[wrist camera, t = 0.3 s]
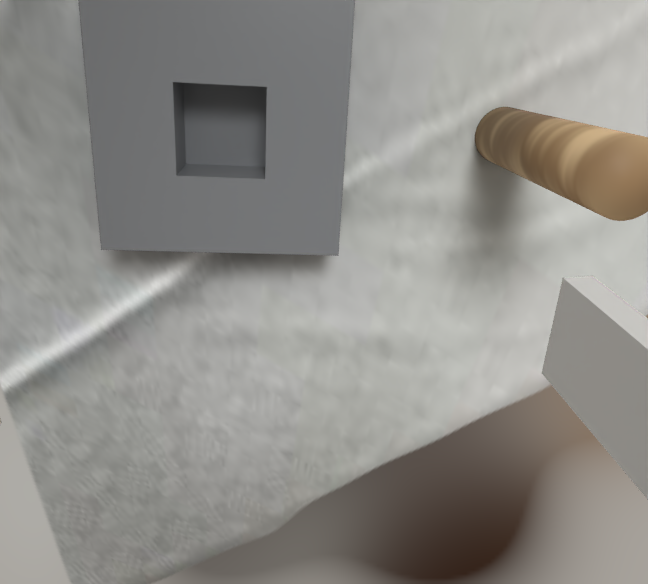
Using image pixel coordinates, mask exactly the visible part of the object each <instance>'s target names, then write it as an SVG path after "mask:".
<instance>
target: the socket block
mask: <svg viewBox="0 0 648 584" xmlns="http://www.w3.org/2000/svg"><path fill="white" fill-rule="evenodd" d="M78 1H79V12H80V23H81V33H82V44H83V55H84V66H85V77H86V88H87V99H88V110H89V121H90V132H91V143H92V154H93V165H94V176H95V187H96V198H97V209H98V220H99V230H100V241H101V250H132V251H173V252H213V253H254V254H294V255H335V256H338V253H339V237H340V222H341V207H342V191H343V176H344V161H345V145H346V130H347V115H348V99H349V84H350V68H351V53H352V38H353V22H354V7H355V0H78Z"/></svg>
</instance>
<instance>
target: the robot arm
mask: <svg viewBox="0 0 648 584" xmlns="http://www.w3.org/2000/svg"><path fill="white" fill-rule="evenodd" d="M542 374H543V375H544V376H545V377H546V379H547V380H548V381H549V382H550V383H551V385H552V386H553V387H554V388H555V389H556V391H557V392H558V393H559V394H560V395H561V397H562V398H563V399H564V400H565V401H566V403H567V404H568V405H569V406H570V407H571V409H572V410H573V411H574V412H575V413H576V415H577V416H578V417H579V418H580V419H581V420H582V422H583V423H584V424H585V425H586V426H587V428H588V429H589V430H590V431H591V432H592V434H593V435H594V436H595V437H596V438H597V440H598V441H599V442H600V443H601V444H602V446H603V447H604V448H605V449H606V450H607V452H608V453H609V454H610V455H611V456H612V458H613V459H614V460H615V461H616V462H617V463H618V465H619V466H620V467H621V468H622V469H623V471H624V472H625V473H626V474H627V475H628V477H629V478H630V479H631V480H632V481H633V483H634V484H635V485H636V486H637V487H638V489H639V490H640V491H641V492H642V493H643V494H644V496H645V497H646V498H647V499H648V318H646V317H645V316H644V315H643V314H641V313H640V312H639V311H637V310H636V309H635V308H634V307H632V306H631V305H630V304H628V303H627V302H626V301H625V300H623V299H622V298H621V297H619V296H618V295H617V294H616V293H614V292H613V291H612V290H610V289H609V288H608V287H607V286H605V285H604V284H603V283H601V282H600V281H599V280H597V279H596V278H595V277H594V276H581V277H565V278H563V280H562V284H561V289H560V293H559V298H558V302H557V307H556V311H555V316H554V320H553V325H552V329H551V334H550V338H549V343H548V347H547V352H546V356H545V361H544V365H543V370H542ZM1 423H2V422H1V419H0V425H1Z"/></svg>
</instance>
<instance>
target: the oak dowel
mask: <svg viewBox="0 0 648 584" xmlns="http://www.w3.org/2000/svg"><path fill="white" fill-rule="evenodd" d="M475 143H476V147H477V149H478V151H479V153H480V154H481V155H482V157H484V158H485V159H486V160H488V161H490V162H492V163H494V164H496V165H499V166H501V167H503V168H505V169H507V170H509V171H511V172H513V173H515V174H517V175H519V176H521V177H523V178H525V179H527V180H529V181H532V182H534V183H536V184H538V185H540V186H542V187H544V188H546V189H548V190H550V191H552V192H554V193H556V194H558V195H560V196H562V197H565V198H567V199H569V200H571V201H573V202H575V203H577V204H579V205H581V206H583V207H585V208H587V209H589V210H591V211H593V212H595V213H598V214H600V215H602V216H604V217H606V218H608V219H611V220H617V221H625V220H630V219H634V218H636V217H639V216H641V215H643V214H645V213H646V212H647V211H648V137H644V136H639V135H634V134H630V133H625V132H621V131H616V130H611V129H607V128H602V127H598V126H593V125H588V124H584V123H579V122H575V121H570V120H566V119H561V118H556V117H552V116H547V115H543V114H538V113H533V112H529V111H524V110H520V109H515V108H510V107H500V108H496V109H494V110H492V111H490V112H489V113H487V114H486V115H485V116H484V117H483V118H482V120H481V121H480V123H479V124H478V127H477V130H476V134H475Z"/></svg>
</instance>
